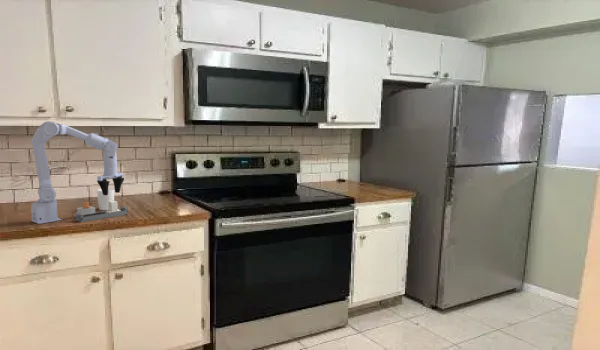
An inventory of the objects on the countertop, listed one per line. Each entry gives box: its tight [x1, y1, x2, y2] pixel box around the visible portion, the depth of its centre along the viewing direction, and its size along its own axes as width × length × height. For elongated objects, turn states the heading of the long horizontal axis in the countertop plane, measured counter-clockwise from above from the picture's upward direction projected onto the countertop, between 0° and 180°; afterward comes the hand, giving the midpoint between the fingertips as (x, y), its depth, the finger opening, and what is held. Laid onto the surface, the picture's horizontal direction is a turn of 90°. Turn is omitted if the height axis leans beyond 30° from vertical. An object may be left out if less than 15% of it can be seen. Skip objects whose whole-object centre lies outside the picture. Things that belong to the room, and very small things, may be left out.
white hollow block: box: [76, 205, 96, 215], centre depth 190 cm, size 6×5×4 cm
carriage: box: [104, 200, 121, 213], centre depth 192 cm, size 6×3×6 cm, turn 143°
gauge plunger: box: [82, 201, 90, 209], centre depth 189 cm, size 2×2×4 cm
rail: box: [75, 205, 129, 223], centre depth 188 cm, size 22×5×3 cm, turn 143°
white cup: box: [96, 187, 115, 211], centre depth 205 cm, size 8×8×10 cm
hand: (111, 193), depth 194 cm, fingers open, 7 cm apart
